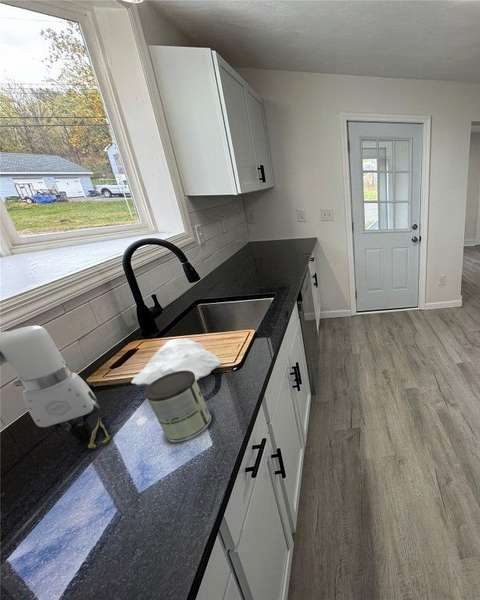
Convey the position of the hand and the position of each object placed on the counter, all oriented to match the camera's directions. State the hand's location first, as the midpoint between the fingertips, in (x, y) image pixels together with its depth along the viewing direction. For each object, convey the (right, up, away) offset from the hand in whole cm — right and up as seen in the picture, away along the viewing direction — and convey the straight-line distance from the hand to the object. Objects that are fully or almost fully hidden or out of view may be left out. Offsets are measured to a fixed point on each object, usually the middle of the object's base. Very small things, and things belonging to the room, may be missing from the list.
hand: (84, 435), depth 80 cm
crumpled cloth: (+8, +10, +23) cm, 27 cm away
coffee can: (+26, +2, +1) cm, 26 cm away
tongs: (+2, 0, +1) cm, 3 cm away
